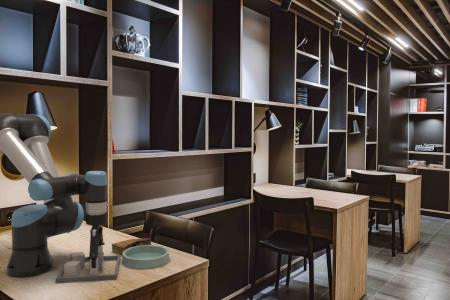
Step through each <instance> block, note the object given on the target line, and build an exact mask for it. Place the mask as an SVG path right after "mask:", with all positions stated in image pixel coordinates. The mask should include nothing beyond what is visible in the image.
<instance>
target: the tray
mask: <svg viewBox="0 0 450 300" xmlns="http://www.w3.org/2000/svg"><path fill="white" fill-rule="evenodd" d="M88 257H89V256H85V263H86V262H88V263H89V262H90V259H88ZM69 261H71V260H70V257H68V258H67V259H66V261H65V262H64V264H63V266H62V268H61V269H60V271H59V272H58V274H57V276H56V277H55V283H56V284H62V283H63V284H64V283H80V282H81V283H82V282H94V281H95V282H96V281H97V282H99V281H112V280H114V281H115V280H117V279H118V274H119V269H120V265H121V261H122V256H121V255H117V254H114V255H113V254H112V255H104V262H105V261H116V263H115V268H114V272H113V273H107V274H98V275H90V274H89V275H80V276H72V277H64V265H65V264H66V263H68V262H69Z"/></svg>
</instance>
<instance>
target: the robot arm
mask: <svg viewBox="0 0 450 300" xmlns="http://www.w3.org/2000/svg"><path fill="white" fill-rule="evenodd" d="M51 135H52V127H51V124H50V122H49V120H48V118H46V117H45V116H44V115H41V114H34V113H29V114H27V113H8V112H6V113H1V114H0V150H1V151H2V152H3V153H4V155H5V156H6V157H7V158H8V160H9V161H10V162H11V163H12V164H13V166H14V167H15V168H16V170H18V172H19V173H20V175H22V177H24V179H25V180H26V181H27V183H28V186H27V193H28V194H29V198H30V199H31V200H33V201H36V202H40V201H42V202H43V203H37V204H29V205H25V206H21V207H19V208H17V209H15V210H14V211H13V213H12V215H11V222H10V223H11V224H10V225H11V246H12V247H11V249H12V251H11V254H10V257H9V259H8V262H7V267H6V273H7V275H8V276H10V277H15V278H27V277H33V276H38V275H42V274H45V273H48V272H49V271H51V270H52V269H53V267H54V264H53V263H54V261H53V258H52V255H51V253H50V250H49V247H48V239H49V238H51V237H55V236H59V235H64V234H69V233H71V232H74V231H77V230H78V229H79V228H81V226H82V224H83V222H84V217H85V224H86V225H88V226H91V228H90V230H89V231H90V232H89V233H90V237H89V252H88V253H89V254H88V256H87V257H88V259H90V261H89V275H99V272H98V252H104V251H103V250H104V247H103V246H105V244H106V243H105V241H104V235H103V230H104V229H103V225H105V224H107V222H108V213H107V212H108V207H109V206H110V205H109V203H108V178H107V177H108V175H107V173H106V171H103V170H91V171H90V170H89V171H86V173H85V175H83V174H79V173H69V174H67V175H64V176H60V175H59V172H58V169H57V167H56V165H55V162H54V159H53V156H52V154H51V151H50V149H49V146H48V143H49V141H50V138H51ZM78 195H79V196H85V212H84V208H83V206H82V204H81V203H80V202H78V201H74V200H73V198H72V196H78ZM85 213H86V214H85Z"/></svg>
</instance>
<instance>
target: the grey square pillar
mask: <svg viewBox="0 0 450 300" xmlns="http://www.w3.org/2000/svg"><path fill="white" fill-rule="evenodd" d="M104 256H105V255H104V251H103V252H98V273H101V272H103V270H104V262H105V261H104Z"/></svg>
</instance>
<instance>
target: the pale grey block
mask: <svg viewBox="0 0 450 300" xmlns="http://www.w3.org/2000/svg"><path fill="white" fill-rule="evenodd" d="M69 253H70V254H69V255H70V257H69V258H70V260H71V261H80V268H81V269H84V268H86V262H85V257H86V255H85V253H84V251H82V250H81V251H76V252H69Z"/></svg>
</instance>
